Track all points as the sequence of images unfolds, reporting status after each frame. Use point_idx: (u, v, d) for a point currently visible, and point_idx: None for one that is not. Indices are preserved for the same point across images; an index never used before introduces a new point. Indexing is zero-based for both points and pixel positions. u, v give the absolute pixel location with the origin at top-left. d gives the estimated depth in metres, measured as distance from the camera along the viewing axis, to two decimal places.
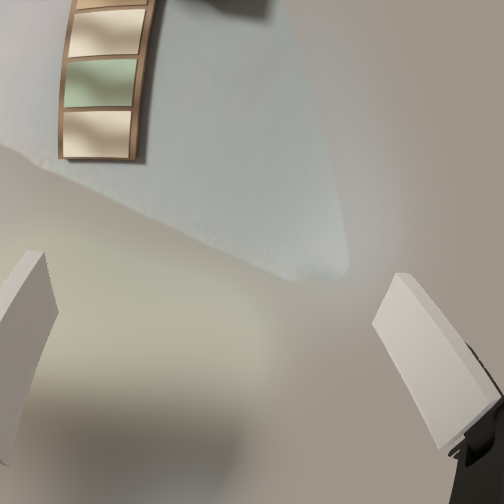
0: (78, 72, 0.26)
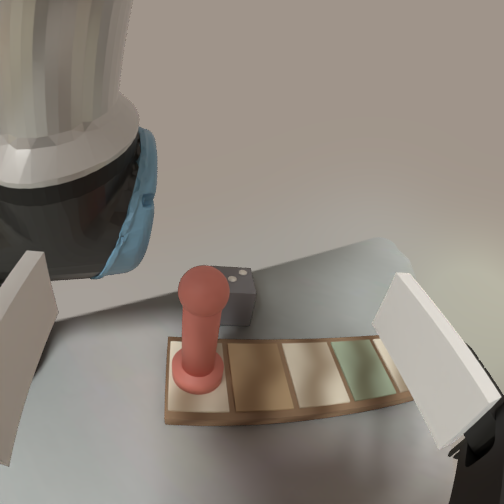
0: (360, 386, 0.29)
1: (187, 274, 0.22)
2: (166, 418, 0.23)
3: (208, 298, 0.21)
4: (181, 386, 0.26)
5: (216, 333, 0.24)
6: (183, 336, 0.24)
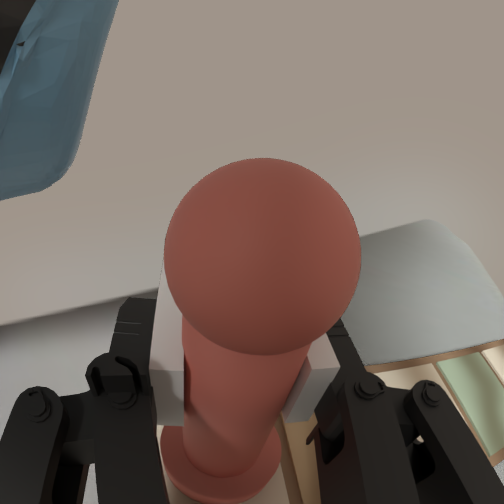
0: (491, 430, 0.13)
1: (203, 181, 0.05)
2: None
3: (308, 276, 0.04)
4: (185, 492, 0.09)
5: (289, 393, 0.07)
6: (186, 403, 0.07)
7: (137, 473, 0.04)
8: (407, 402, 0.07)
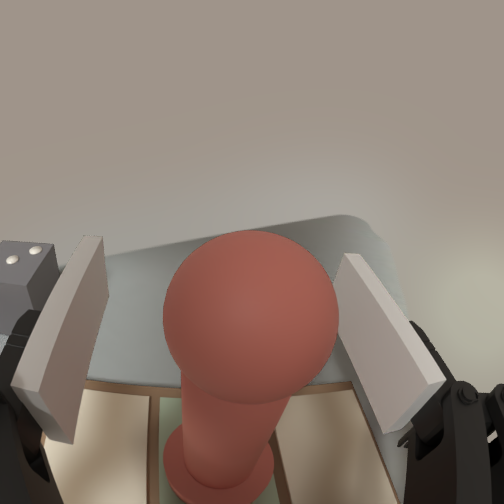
0: None
1: (195, 260, 0.06)
2: None
3: (285, 354, 0.05)
4: (185, 501, 0.10)
5: (277, 423, 0.08)
6: (187, 430, 0.08)
7: (5, 479, 0.03)
8: (489, 398, 0.07)
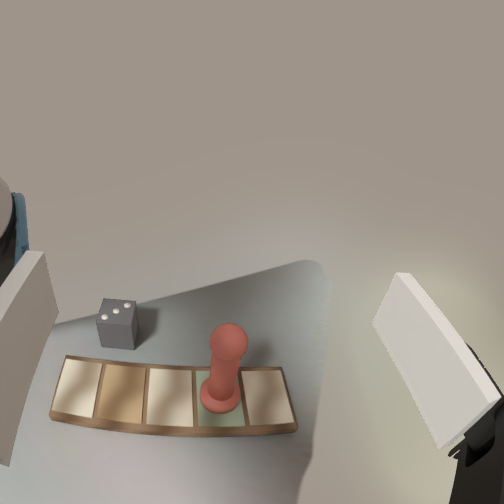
0: (209, 414, 0.33)
1: (217, 331, 0.29)
2: (50, 415, 0.27)
3: (233, 349, 0.28)
4: (207, 407, 0.33)
5: (237, 370, 0.31)
6: (212, 372, 0.32)
7: None
8: None
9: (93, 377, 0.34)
